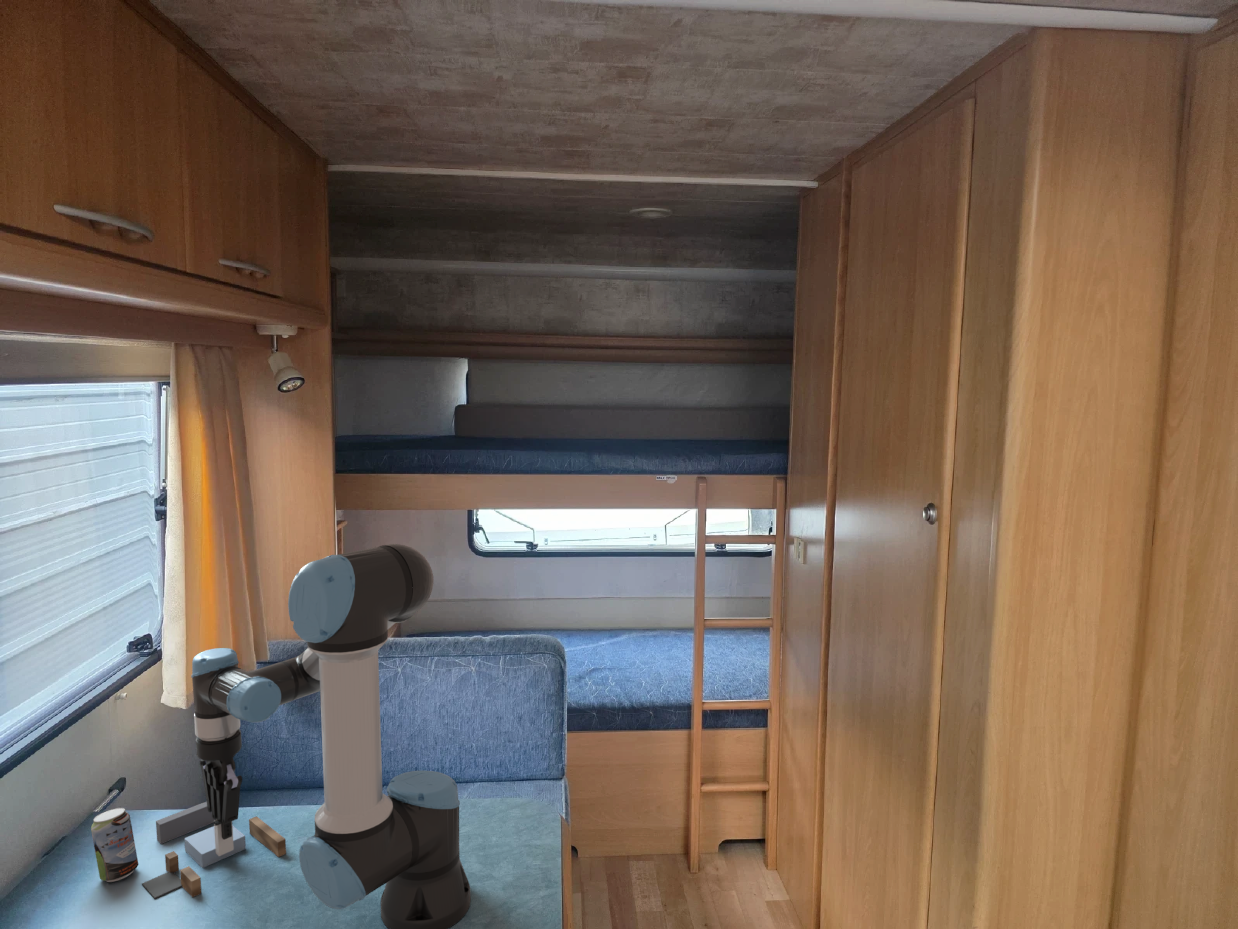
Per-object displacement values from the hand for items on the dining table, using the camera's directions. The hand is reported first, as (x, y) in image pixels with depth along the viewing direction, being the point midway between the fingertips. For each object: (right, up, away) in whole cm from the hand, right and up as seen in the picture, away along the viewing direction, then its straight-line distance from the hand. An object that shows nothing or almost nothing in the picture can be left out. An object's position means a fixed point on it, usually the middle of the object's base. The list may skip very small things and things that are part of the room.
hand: (224, 851), depth 149 cm
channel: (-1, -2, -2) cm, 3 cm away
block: (-3, -2, +3) cm, 5 cm away
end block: (-12, -1, +10) cm, 16 cm away
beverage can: (-17, -2, -5) cm, 18 cm away
